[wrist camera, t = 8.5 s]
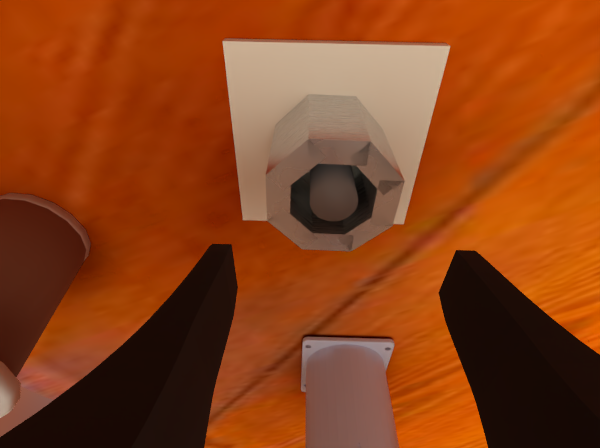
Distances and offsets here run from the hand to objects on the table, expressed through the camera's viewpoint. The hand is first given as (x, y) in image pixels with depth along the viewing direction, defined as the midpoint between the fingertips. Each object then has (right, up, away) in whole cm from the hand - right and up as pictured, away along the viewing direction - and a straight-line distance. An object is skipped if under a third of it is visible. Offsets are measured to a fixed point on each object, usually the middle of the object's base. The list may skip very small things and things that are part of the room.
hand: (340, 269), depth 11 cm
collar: (0, +6, +7) cm, 9 cm away
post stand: (0, +6, +7) cm, 9 cm away
